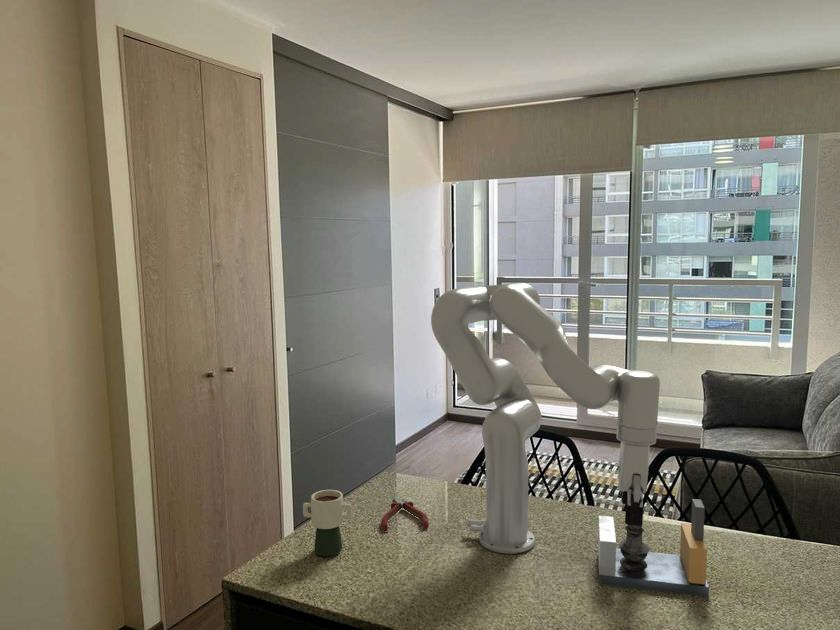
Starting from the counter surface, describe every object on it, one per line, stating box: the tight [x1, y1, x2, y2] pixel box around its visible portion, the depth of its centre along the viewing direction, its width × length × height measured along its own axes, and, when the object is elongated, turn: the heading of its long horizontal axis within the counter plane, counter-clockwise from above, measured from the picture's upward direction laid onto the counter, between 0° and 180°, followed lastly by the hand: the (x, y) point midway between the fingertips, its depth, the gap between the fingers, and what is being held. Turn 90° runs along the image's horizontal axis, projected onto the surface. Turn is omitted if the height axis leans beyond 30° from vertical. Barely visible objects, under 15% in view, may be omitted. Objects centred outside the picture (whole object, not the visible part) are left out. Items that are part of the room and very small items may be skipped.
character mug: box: [302, 489, 353, 557], centre depth 136 cm, size 11×7×13 cm, turn 86°
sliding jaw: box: [679, 498, 708, 585], centre depth 122 cm, size 3×11×14 cm, turn 165°
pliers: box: [380, 494, 430, 532], centre depth 156 cm, size 12×20×3 cm, turn 6°
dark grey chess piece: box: [618, 524, 650, 570], centre depth 125 cm, size 6×6×12 cm
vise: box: [597, 515, 710, 598], centre depth 125 cm, size 20×12×9 cm, turn 75°
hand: (631, 514), depth 125 cm, fingers open, 9 cm apart
